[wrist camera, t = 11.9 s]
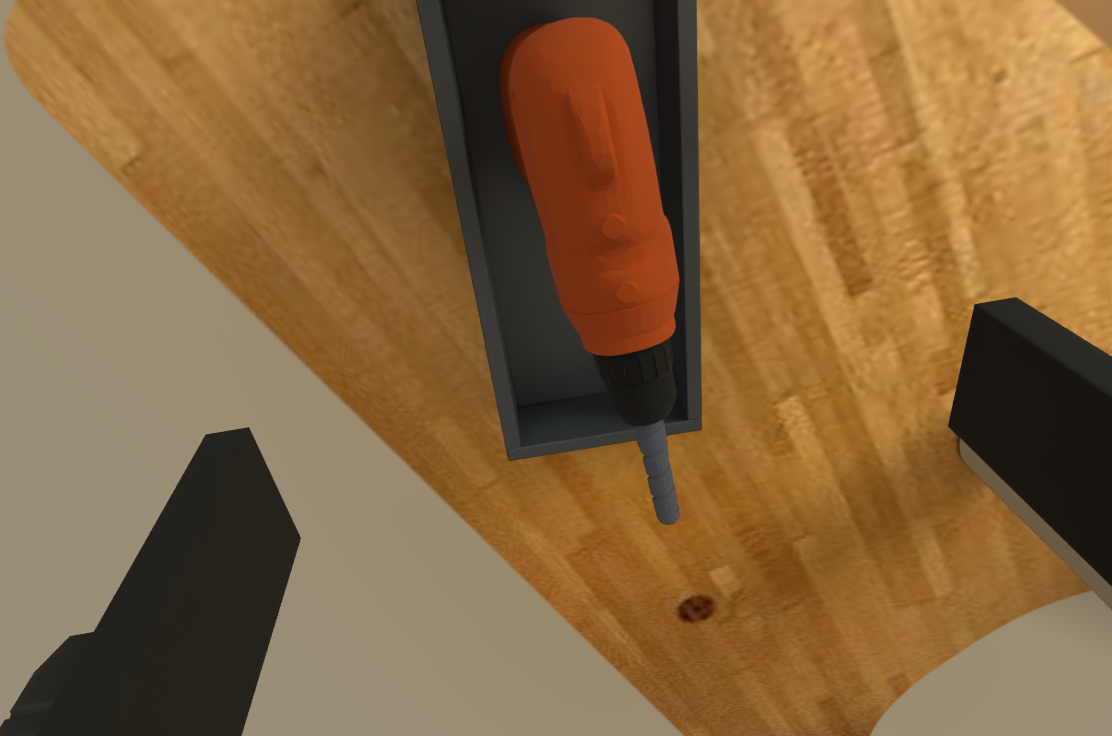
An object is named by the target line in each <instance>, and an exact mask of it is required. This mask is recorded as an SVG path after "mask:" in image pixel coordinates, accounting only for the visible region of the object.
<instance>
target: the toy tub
mask: <svg viewBox="0 0 1112 736" xmlns="http://www.w3.org/2000/svg"><path fill="white" fill-rule="evenodd" d="M416 2H417V7H418V12H419V17H420V22H421V27H422V32H423V37H424V42H425V47H426V52H427V57H428V62H429V67H430V72H431V77H432V82H433V87H434V92H435V97H436V102H437V107H438V112H439V117H440V122H441V127H442V132H443V137H444V142H445V147H446V152H447V157H448V162H449V167H450V172H451V177H452V182H453V187H454V192H455V197H456V202H457V207H458V212H459V217H460V222H461V227H462V232H463V237H464V242H465V247H466V252H467V257H468V262H469V267H470V272H471V277H472V282H473V287H474V292H475V297H476V302H477V307H478V312H479V317H480V322H481V327H482V332H483V337H484V342H485V347H486V352H487V357H488V361H489V366H490V371H491V376H492V381H493V386H494V391H495V396H496V401H497V406H498V411H499V416H500V421H501V426H502V431H503V436H504V441H505V446H506V451H507V456H508V460H509V461H512V460H519V459H525V458H531V457H537V456H543V455H550V454H556V453H562V452H568V451H574V450H580V449H587V448H593V447H599V446H605V445H611V444H618V443H624V442H630V441H636V437H635V436H636V434H637V433H636V428H635V426H632V425H628V424H626V423H625V422H623V421H622V420H621V419H620V418H619V417H618V416H617V415H616V414H615V413H614V412H613V411H612V410H611V408H610V404H609V400H608V396H607V392H606V388H605V384H604V381H603V380H602V379H601V377H600V376H599V375H598V372H597V368H596V365H595V361H594V357H593V353H590V352H588V351H587V350H586V349H585V348H584V346H583V343H582V340H581V336H580V334H579V333H578V332H577V331H576V329H575V328H574V326H573V325H572V323H571V322H570V320H569V318H568V317H567V315H566V314H565V312H564V311H563V309H562V307H561V303H560V299H559V296H558V292H557V289H556V285H555V282H554V278H553V275H552V271H551V268H550V264H549V260H548V256H547V248H546V240H545V234H544V230H543V227H542V224H541V221H540V217H539V214H538V211H537V208H536V204H535V201H534V198H533V195H532V191H531V188H530V186H529V185H528V184H527V182H526V181H525V180H524V178H523V176H522V174H521V172H520V170H519V168H518V166H517V163H516V160H515V158H514V155H513V152H512V148H511V144H510V141H509V137H508V133H507V129H506V125H505V120H504V116H503V110H502V104H501V98H500V85H499V75H500V65H501V61H502V58H503V55H504V53H505V50H506V48H507V46H508V45H509V43H510V42H511V41H512V40H513V38H514V37H515V36H516V35H517V34H519V33H520V32H521V31H523V30H524V29H525V28H528V27H531V26H533V25H536V24H540V23H546V22H552V23H553V22H556V21H560V20H563V19H568V18H572V17H581V18H597V19H599V20H602V21H604V22H607V23H609V24H610V25H612V26H613V27H614V28H616V29H617V30H618V32H619V33H620V34H621V36H622V37H623V39H624V41H625V42H626V44H627V46H628V48H629V51H630V55H631V59H632V62H633V66H634V70H635V74H636V77H637V82H638V86H639V91H640V95H641V100H642V104H643V109H644V113H645V118H646V122H647V127H648V132H649V137H650V142H651V147H652V152H653V157H654V162H655V168H656V174H657V180H658V186H659V192H660V197H661V203H662V209H663V213H664V215H665V216H666V218H667V219H668V221H669V224H670V227H671V232H672V238H673V244H674V250H675V256H676V262H677V268H678V274H679V279H680V282H679V288H678V295H677V302H676V308H675V312H674V318H675V325H676V328H675V331H674V333H673V334H672V336H670V341H671V346H672V352H673V364H672V366H671V367H672V372H673V377H674V382H675V387H676V392H677V396H676V400H675V402H674V405H673V407H672V410H671V412H670V414H669V415H668V416H667V417H666V418H665V419H663V421H664V423H665V430H666V436H667V435H673V434H680V433H686V432H692V431H698V430H702V418H701V417H702V388H701V311H700V233H699V156H698V79H697V2H696V0H416Z"/></svg>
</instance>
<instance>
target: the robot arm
mask: <svg viewBox="0 0 1112 736" xmlns="http://www.w3.org/2000/svg"><path fill="white" fill-rule="evenodd" d="M948 427H949V428H950V429H951V430H952V431H953V432H954V433H955V434H956V435H957V436H958V437H960V438H961V439H962V440H963V441H964V442H965V443H966V444H967V445H968V446H969V447H970V448H971V449H972V450H973V451H974V452H975V453H976V454H977V455H978V456H979V457H980V458H981V459H982V460H983V461H984V462H985V463H986V464H987V465H988V466H989V467H990V468H991V469H992V470H993V471H994V472H995V473H996V474H997V475H998V476H999V477H1000V478H1001V479H1002V480H1003V481H1004V482H1005V483H1006V484H1007V485H1008V486H1009V487H1010V488H1011V489H1012V490H1013V491H1014V492H1015V493H1017V494H1018V495H1019V496H1020V497H1021V498H1022V499H1023V500H1024V501H1025V502H1026V503H1027V504H1028V505H1029V506H1030V507H1031V508H1032V509H1033V510H1034V511H1035V512H1036V513H1037V514H1038V515H1039V516H1040V517H1041V518H1042V519H1043V520H1044V521H1045V522H1046V523H1047V524H1048V525H1049V526H1050V527H1051V528H1052V529H1053V530H1054V531H1055V532H1056V533H1057V534H1058V535H1059V536H1060V537H1061V538H1062V539H1063V540H1064V541H1065V542H1066V543H1067V544H1068V545H1069V546H1070V547H1071V548H1073V549H1074V550H1075V551H1076V552H1077V553H1078V554H1079V555H1080V556H1081V557H1082V558H1083V559H1084V560H1085V561H1086V562H1087V563H1088V564H1089V565H1090V566H1091V567H1092V568H1093V569H1094V570H1095V571H1096V572H1097V573H1098V574H1099V575H1100V576H1101V577H1102V578H1103V579H1104V580H1105V581H1106V582H1107V583H1108V584H1109V585H1110V586H1111V587H1112V356H1110V355H1108V354H1107V353H1105V352H1103V351H1102V350H1100V349H1099V348H1097V347H1095V346H1094V345H1092V344H1091V343H1089V342H1087V341H1086V340H1084V339H1083V338H1081V337H1079V336H1078V335H1076V334H1074V333H1073V332H1071V331H1070V330H1068V329H1066V328H1065V327H1063V326H1062V325H1060V324H1058V323H1057V322H1055V321H1054V320H1052V319H1050V318H1049V317H1047V316H1045V315H1044V314H1042V313H1041V312H1039V311H1037V310H1036V309H1034V308H1033V307H1031V306H1029V305H1028V304H1026V303H1025V302H1023V301H1021V300H1020V299H1018V298H1016V297H1015V298H1009V299H1003V300H997V301H991V302H985V303H979V304H975V305H974V310H973V314H972V319H971V323H970V328H969V332H968V337H967V342H966V346H965V351H964V355H963V360H962V364H961V369H960V374H959V378H958V383H957V387H956V392H955V396H954V401H953V406H952V410H951V415H950V419H949V424H948ZM300 539H301V537H300V535H299V533H298V531H297V529H296V527H295V525H294V523H293V520H292V518H291V516H290V514H289V512H288V509H287V507H286V505H285V503H284V501H283V499H282V497H281V495H280V493H279V490H278V488H277V486H276V484H275V482H274V480H273V477H272V475H271V473H270V471H269V469H268V467H267V465H266V463H265V460H264V458H263V456H262V454H261V452H260V450H259V448H258V445H257V443H256V441H255V439H254V437H253V435H252V433H251V431H250V428H249V427H248V428H242V429H236V430H230V431H224V432H219V433H212V434H207V435H205V437H204V439H203V440H202V442H201V444H200V446H199V448H198V449H197V451H196V453H195V455H194V456H193V458H192V460H191V461H190V463H189V465H188V467H187V469H186V470H185V472H184V474H183V476H182V477H181V479H180V481H179V483H178V484H177V486H176V488H175V490H174V491H173V493H172V495H171V497H170V498H169V500H168V502H167V504H166V506H165V507H164V509H163V511H162V513H161V514H160V516H159V518H158V520H157V521H156V523H155V525H154V527H153V528H152V530H151V532H150V534H149V536H148V537H147V539H146V541H145V543H144V545H143V546H142V548H141V550H140V551H139V553H138V555H137V557H136V558H135V560H134V562H133V564H132V566H131V567H130V569H129V571H128V573H127V574H126V576H125V578H124V580H123V581H122V583H121V585H120V587H119V588H118V590H117V592H116V594H115V595H114V597H113V599H112V601H111V603H110V604H109V606H108V608H107V610H106V612H105V613H104V615H103V617H102V618H101V620H100V622H99V624H98V626H97V627H96V629H95V631H94V632H91V633H86V634H80V635H74V636H70V637H69V638H68V639H67V640H66V641H65V642H64V643H63V644H62V645H61V646H60V647H59V648H58V649H57V650H56V651H55V652H54V653H53V654H52V655H51V656H50V657H49V658H48V659H47V660H46V661H45V662H44V663H43V664H42V665H41V666H40V667H39V668H38V669H37V670H36V671H35V672H34V674H33V676H32V677H31V678H30V680H29V682H28V683H27V685H26V687H25V688H24V690H23V691H22V693H21V695H20V696H19V698H18V700H17V701H16V703H15V704H14V706H13V708H12V709H11V711H10V713H11V716H10V718H9V719H6V720H5V721H4V722H3V724H2V725H1V727H0V736H241V735H242V732H243V729H244V726H245V722H246V719H247V716H248V712H249V709H250V706H251V702H252V699H253V696H254V692H255V689H256V686H257V682H258V679H259V676H260V672H261V669H262V666H263V662H264V659H265V656H266V652H267V649H268V646H269V642H270V639H271V636H272V632H273V629H274V626H275V623H276V619H277V616H278V613H279V609H280V606H281V603H282V599H283V596H284V592H285V589H286V586H287V582H288V579H289V576H290V572H291V569H292V566H293V563H294V559H295V556H296V553H297V549H298V546H299V543H300Z"/></svg>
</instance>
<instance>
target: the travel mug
mask: <svg viewBox="0 0 1112 736" xmlns="http://www.w3.org/2000/svg"><path fill="white" fill-rule="evenodd" d="M959 447H960V454H961V457H962V459H963V461H964V463H965V464H966V465H967V466H968V467H969V468H970V469H971V470H972V471H973V472H974V473H975V474H976V475H977V476H978V477H979V478H980V479H981V480H982V481H983V482H984V483H985V484H986V485H987V486H988V487H989V488H990V489H991V490H992V491H993V492H994V493H995V494H996V495H997V496H998V497H999V498H1000V499H1001V500H1002V501H1003V502H1004V503H1005V504H1006V505H1007V506H1008V507H1009V508H1010V509H1011V510H1012V511H1013V512H1014V513H1015V514H1016V515H1017V516H1018V517H1019V518H1020V519H1021V520H1022V521H1023V522H1024V523H1025V524H1026V525H1027V526H1028V527H1029V528H1030V529H1031V530H1032V531H1033V532H1034V533H1035V534H1036V535H1037V536H1038V537H1039V538H1040V539H1041V540H1042V541H1043V542H1044V543H1045V544H1046V545H1047V546H1048V547H1049V548H1050V549H1051V550H1052V551H1053V552H1054V553H1055V554H1056V555H1057V556H1058V557H1059V558H1060V559H1061V560H1062V561H1063V562H1064V563H1065V564H1066V565H1067V566H1068V567H1069V568H1070V569H1071V570H1073V571H1074V572H1075V573H1076V574H1077V575H1078V576H1079V577H1080V578H1081V579H1082V580H1083V581H1084V582H1085V583H1086V584H1087V585H1088V586H1089V587H1090V588H1091V589H1092V590H1093V591H1094V592H1095V593H1096V594H1097V595H1098V596H1099V597H1100V598H1101V599H1102V600H1103V601H1104V602H1105V603H1106V604H1107V605H1108V606H1109V607H1110V608H1111V609H1112V587H1111V586H1110V585H1109V584H1108V583H1107V582H1106V581H1105V580H1104V579H1103V578H1102V577H1101V576H1100V575H1099V574H1098V573H1097V572H1096V571H1095V570H1094V569H1093V568H1092V567H1091V566H1090V565H1089V564H1088V563H1087V562H1086V561H1085V560H1084V559H1083V558H1082V557H1081V556H1080V555H1079V554H1078V553H1077V552H1076V551H1075V550H1074V549H1073V548H1071V547H1070V546H1069V545H1068V544H1067V543H1066V542H1065V541H1064V540H1063V539H1062V538H1061V537H1060V536H1059V535H1058V534H1057V533H1056V532H1055V531H1054V530H1053V529H1052V528H1051V527H1050V526H1049V525H1048V524H1047V523H1046V522H1045V521H1044V520H1043V519H1042V518H1041V517H1040V516H1039V515H1038V514H1037V513H1036V512H1035V511H1034V510H1033V509H1032V508H1031V507H1030V506H1029V505H1028V504H1027V503H1026V502H1025V501H1024V500H1023V499H1022V498H1021V497H1020V496H1019V495H1018V494H1017V493H1015V492H1014V491H1013V490H1012V489H1011V488H1010V487H1009V486H1008V485H1007V484H1006V483H1005V482H1004V481H1003V480H1002V479H1001V478H1000V477H999V476H998V475H997V474H996V473H995V472H994V471H993V470H992V469H991V468H990V467H989V466H988V465H987V464H986V463H985V462H984V461H983V460H982V459H981V458H980V457H979V456H978V455H977V454H976V453H975V452H974V451H973V450H972V449H971V448H970V447H969V446H968V445H967V444H966V443H965V442H964V441H963V440H962V439H961V438H960V446H959Z"/></svg>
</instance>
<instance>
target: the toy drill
mask: <svg viewBox="0 0 1112 736" xmlns="http://www.w3.org/2000/svg"><path fill="white" fill-rule="evenodd" d="M499 85H500V98H501V104H502V110H503V116H504V120H505V125H506V129H507V133H508V137H509V141H510V144H511V148H512V152H513V155H514V158H515V160H516V163H517V166H518V168H519V170H520V172H521V174H522V176H523V178H524V180H525V181H526V182H527V184H528V185H529V186H530V188H531V191H532V195H533V198H534V201H535V204H536V208H537V211H538V214H539V217H540V221H541V224H542V227H543V230H544V234H545V240H546V248H547V256H548V260H549V264H550V268H551V271H552V275H553V278H554V282H555V285H556V289H557V292H558V296H559V299H560V303H561V307H562V309H563V311H564V312H565V314H566V315H567V317H568V318H569V320H570V322H571V323H572V325H573V326H574V328H575V329H576V331H577V332H578V333H579V334H580V336H581V340H582V343H583V346H584V348H585V349H586V350H587V351H588V352H590V353H593V357H594V361H595V365H596V368H597V372H598V375H599V376H600V377H601V379H602V380H603V381H604V384H605V388H606V392H607V396H608V400H609V404H610V408H611V410H612V411H613V412H614V413H615V414H616V415H617V416H618V417H619V418H620V419H621V420H622V421H623V422H625V423H626V424H628V425H632V426H635V428H636V433H637V434H636V436H635V437H636V440H637V443H638V445H639V448H640V450H641V453H642V454H644V455H645V456H643V461H644V465H645V469H646V473H647V474H648V475H649V477H648V482H649V487H650V491H651V494H652V495H653V496H654V497H653V498H652V499H653V503H654V507H655V511H656V516H657V518H658V520H659V521H660V522H661V523H663V524H666V525H671V524H674V523H675V522H676V521H677V520H678V519H679V517H680V511H679V507H678V505H677V495H676V490H675V486H674V483H673V476H672V471H671V466H670V463H669V455H668V442H667V440H666V439H667V437H666V430H665V423H664V421H663V419H665V418H666V417H667V416H668V415H669V414H670V412H671V410H672V407H673V405H674V402H675V400H676V396H677V392H676V387H675V382H674V377H673V372H672V367H671V366H672V364H673V352H672V346H671V341H670V336H672V334H673V333H674V331H675V328H676V325H675V318H674V312H675V308H676V302H677V295H678V288H679V282H680V279H679V274H678V268H677V262H676V256H675V250H674V244H673V238H672V232H671V227H670V224H669V221H668V219H667V218H666V216H665V215H664V213H663V209H662V203H661V197H660V192H659V186H658V180H657V174H656V168H655V162H654V157H653V152H652V147H651V142H650V137H649V132H648V127H647V122H646V118H645V113H644V109H643V104H642V100H641V95H640V91H639V86H638V82H637V77H636V74H635V70H634V66H633V62H632V59H631V55H630V51H629V48H628V46H627V44H626V42H625V41H624V39H623V37H622V36H621V34H620V33H619V32H618V30H617V29H616V28H614V27H613V26H612V25H610V24H609V23H607V22H604V21H602V20H599V19H597V18H581V17H572V18H568V19H563V20H560V21H556V22H553V23H552V22H546V23H540V24H536V25H533V26H531V27H528V28H525V29H524V30H523V31H521V32H520V33H519V34H517V35H516V36H515V37H514V38H513V40H512V41H511V42H510V43H509V45H508V46H507V48H506V50H505V53H504V55H503V58H502V61H501V65H500V75H499Z"/></svg>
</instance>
